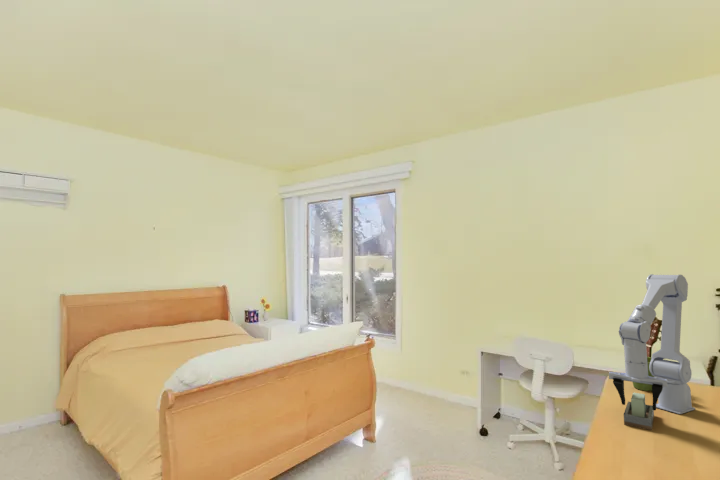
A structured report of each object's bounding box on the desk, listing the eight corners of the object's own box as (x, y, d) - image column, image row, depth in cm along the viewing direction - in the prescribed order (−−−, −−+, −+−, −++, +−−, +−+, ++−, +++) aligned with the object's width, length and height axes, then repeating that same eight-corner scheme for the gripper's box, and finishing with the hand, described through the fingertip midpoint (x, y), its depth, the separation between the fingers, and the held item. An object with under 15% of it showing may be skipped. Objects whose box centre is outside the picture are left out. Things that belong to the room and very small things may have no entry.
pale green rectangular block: (634, 411, 122) (633, 392, 123) (646, 413, 120) (644, 394, 121) (632, 419, 116) (631, 399, 116) (644, 422, 114) (643, 401, 114)
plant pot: (666, 395, 140) (664, 364, 141) (627, 390, 146) (625, 360, 147) (663, 387, 150) (661, 357, 150) (626, 382, 156) (624, 354, 157)
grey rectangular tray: (628, 410, 126) (628, 401, 126) (654, 415, 121) (653, 405, 122) (624, 424, 115) (623, 414, 115) (651, 430, 111) (651, 419, 111)
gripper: (606, 360, 121) (609, 405, 120) (665, 367, 112) (668, 416, 111) (609, 356, 126) (611, 398, 125) (666, 362, 117) (669, 408, 116)
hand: (638, 406), depth 118 cm, fingers open, 7 cm apart
